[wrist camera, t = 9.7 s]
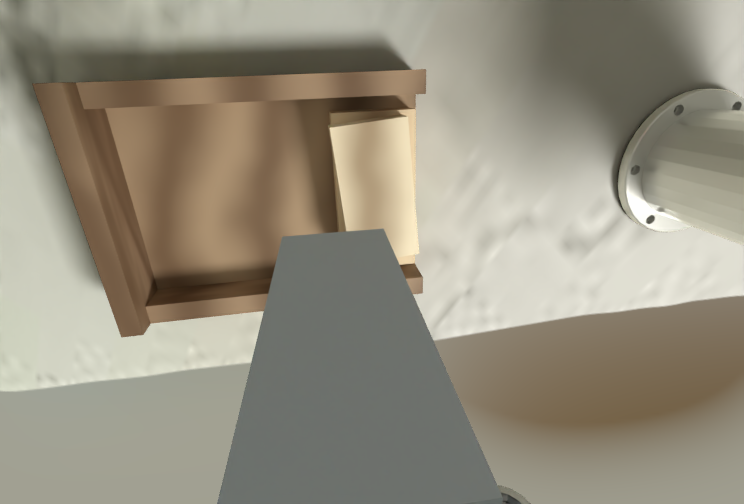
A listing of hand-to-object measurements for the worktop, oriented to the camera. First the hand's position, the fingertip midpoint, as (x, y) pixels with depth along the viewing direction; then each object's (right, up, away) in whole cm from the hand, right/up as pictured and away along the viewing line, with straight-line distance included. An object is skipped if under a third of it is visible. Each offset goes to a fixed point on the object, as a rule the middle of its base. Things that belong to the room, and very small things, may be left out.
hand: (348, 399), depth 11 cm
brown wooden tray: (-8, +9, +20) cm, 24 cm away
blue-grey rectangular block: (0, 0, +1) cm, 1 cm away
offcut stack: (+1, +9, +21) cm, 23 cm away
